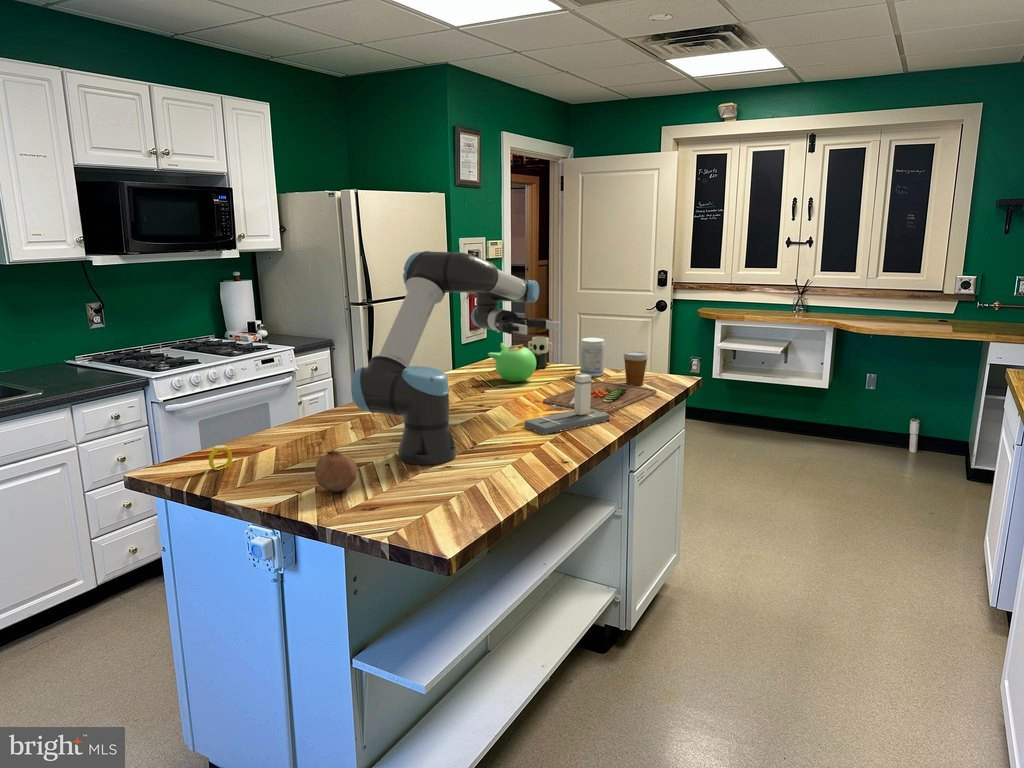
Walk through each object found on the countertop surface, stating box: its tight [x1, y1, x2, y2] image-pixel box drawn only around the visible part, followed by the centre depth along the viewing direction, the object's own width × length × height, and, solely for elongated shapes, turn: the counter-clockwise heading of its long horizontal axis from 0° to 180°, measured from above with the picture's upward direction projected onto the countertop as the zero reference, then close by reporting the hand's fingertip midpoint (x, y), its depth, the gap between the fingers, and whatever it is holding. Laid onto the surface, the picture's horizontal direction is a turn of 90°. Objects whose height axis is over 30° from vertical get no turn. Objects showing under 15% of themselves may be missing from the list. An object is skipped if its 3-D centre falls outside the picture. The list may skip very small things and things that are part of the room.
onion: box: [314, 449, 359, 493], centre depth 162 cm, size 10×9×10 cm
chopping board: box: [542, 380, 658, 414], centre depth 254 cm, size 45×27×3 cm, turn 145°
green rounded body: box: [487, 342, 537, 383], centre depth 279 cm, size 18×17×15 cm
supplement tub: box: [580, 337, 605, 378], centre depth 291 cm, size 10×10×15 cm
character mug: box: [527, 336, 554, 369], centre depth 305 cm, size 11×7×13 cm, turn 71°
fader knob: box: [574, 374, 592, 415], centre depth 222 cm, size 4×3×12 cm
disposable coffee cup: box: [622, 350, 649, 386], centre depth 275 cm, size 10×10×12 cm
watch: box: [208, 444, 233, 471], centre depth 177 cm, size 6×3×6 cm, turn 150°
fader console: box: [523, 409, 610, 435], centre depth 220 cm, size 26×10×2 cm, turn 127°
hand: (543, 328), depth 225 cm, fingers open, 13 cm apart
